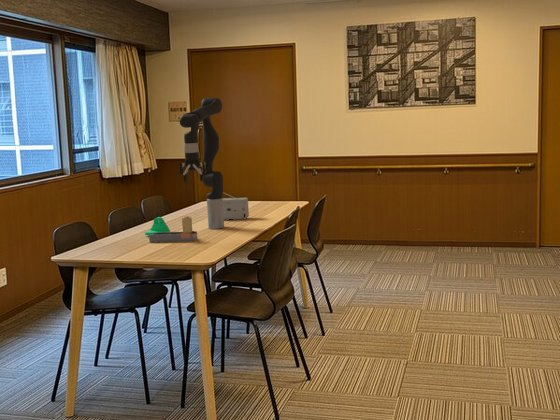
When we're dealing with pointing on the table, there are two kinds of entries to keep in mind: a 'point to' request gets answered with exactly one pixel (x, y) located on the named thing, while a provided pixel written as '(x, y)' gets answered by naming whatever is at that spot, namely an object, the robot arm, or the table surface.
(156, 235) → the rail
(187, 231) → the tan upright block
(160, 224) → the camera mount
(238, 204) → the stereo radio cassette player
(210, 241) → the table surface
